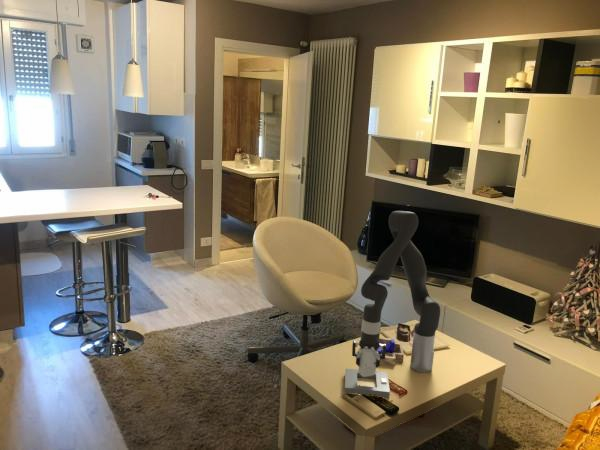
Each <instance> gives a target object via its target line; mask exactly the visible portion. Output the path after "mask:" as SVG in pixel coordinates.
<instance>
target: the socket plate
mask: <svg viewBox="0 0 600 450" xmlns="http://www.w3.org/2000/svg"><path fill="white" fill-rule="evenodd" d="M358 370H359V369H356V368H354V369H353V368H345V371H344V395H347V394H346V393H357V394H377V395H379V396H381V397H384V398H383V399H390V395H391V391H390V383H389V373H388V372H387V371H376V372H375V375H372V376H366V377H363V376H362V375H361V374H360V373H359V372H358ZM359 385H360V386H359Z"/></svg>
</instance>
